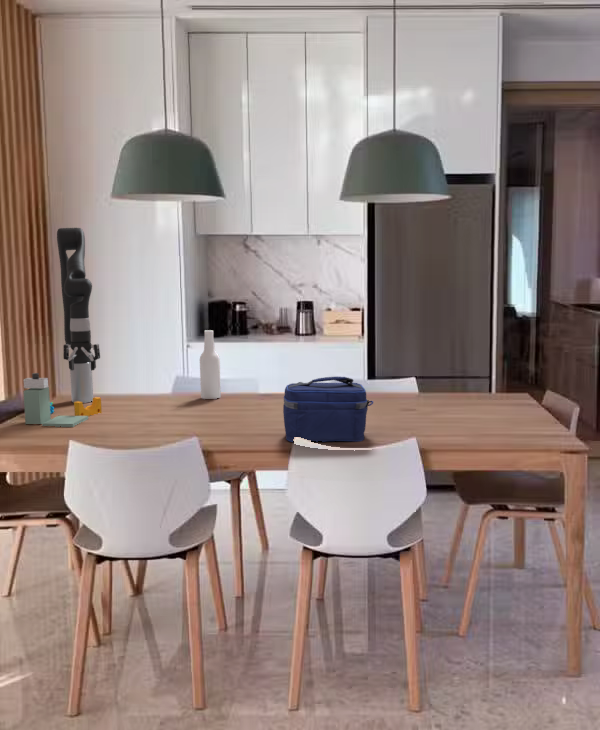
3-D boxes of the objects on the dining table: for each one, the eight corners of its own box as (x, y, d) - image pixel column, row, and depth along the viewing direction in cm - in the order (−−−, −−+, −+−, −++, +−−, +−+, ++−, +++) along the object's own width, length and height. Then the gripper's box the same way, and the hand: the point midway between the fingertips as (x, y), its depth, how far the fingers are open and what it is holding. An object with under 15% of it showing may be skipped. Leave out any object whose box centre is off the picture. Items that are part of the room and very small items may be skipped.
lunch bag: (368, 428, 288) (368, 372, 285) (377, 442, 267) (377, 381, 264) (282, 430, 286) (281, 374, 283) (285, 444, 265) (283, 383, 263)
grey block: (28, 386, 307) (27, 372, 307) (48, 386, 306) (47, 372, 306) (24, 388, 304) (23, 374, 303) (44, 388, 303) (43, 374, 302)
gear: (44, 412, 317) (30, 394, 320) (35, 422, 319) (21, 404, 321) (61, 411, 328) (47, 393, 330) (52, 421, 329) (39, 403, 331)
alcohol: (197, 399, 351) (194, 331, 347) (207, 395, 359) (205, 329, 355) (214, 400, 348) (212, 331, 344) (224, 397, 356) (222, 329, 352)
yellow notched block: (93, 412, 326) (93, 396, 325) (101, 413, 324) (100, 397, 323) (71, 417, 316) (70, 401, 315) (79, 418, 314) (78, 402, 313)
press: (39, 418, 315) (37, 385, 313) (88, 418, 312) (86, 385, 310) (21, 426, 300) (19, 392, 298) (73, 427, 298) (71, 392, 296)
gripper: (101, 328, 318) (103, 368, 320) (67, 328, 320) (69, 368, 322) (94, 330, 311) (96, 371, 313) (59, 330, 313) (61, 371, 315)
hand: (82, 370), depth 318 cm, fingers open, 8 cm apart
